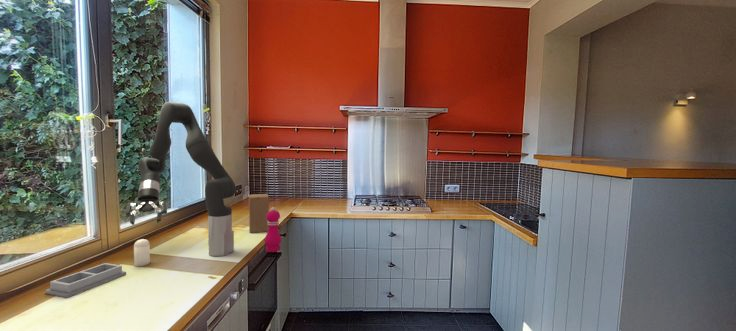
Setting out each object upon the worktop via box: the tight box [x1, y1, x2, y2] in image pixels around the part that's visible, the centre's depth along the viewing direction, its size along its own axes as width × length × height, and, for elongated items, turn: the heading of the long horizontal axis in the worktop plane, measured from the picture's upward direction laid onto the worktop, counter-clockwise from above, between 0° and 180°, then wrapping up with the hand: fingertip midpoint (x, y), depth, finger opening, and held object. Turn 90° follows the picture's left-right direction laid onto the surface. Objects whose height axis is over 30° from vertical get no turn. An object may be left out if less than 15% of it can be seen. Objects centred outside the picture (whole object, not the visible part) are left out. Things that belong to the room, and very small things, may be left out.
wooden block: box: [248, 193, 270, 234], centre depth 159 cm, size 10×10×20 cm
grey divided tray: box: [45, 262, 127, 299], centre depth 95 cm, size 10×17×4 cm, turn 166°
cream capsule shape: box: [133, 238, 151, 267], centre depth 111 cm, size 5×5×10 cm
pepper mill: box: [264, 206, 282, 253], centre depth 129 cm, size 7×7×20 cm
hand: (145, 222), depth 119 cm, fingers open, 8 cm apart
